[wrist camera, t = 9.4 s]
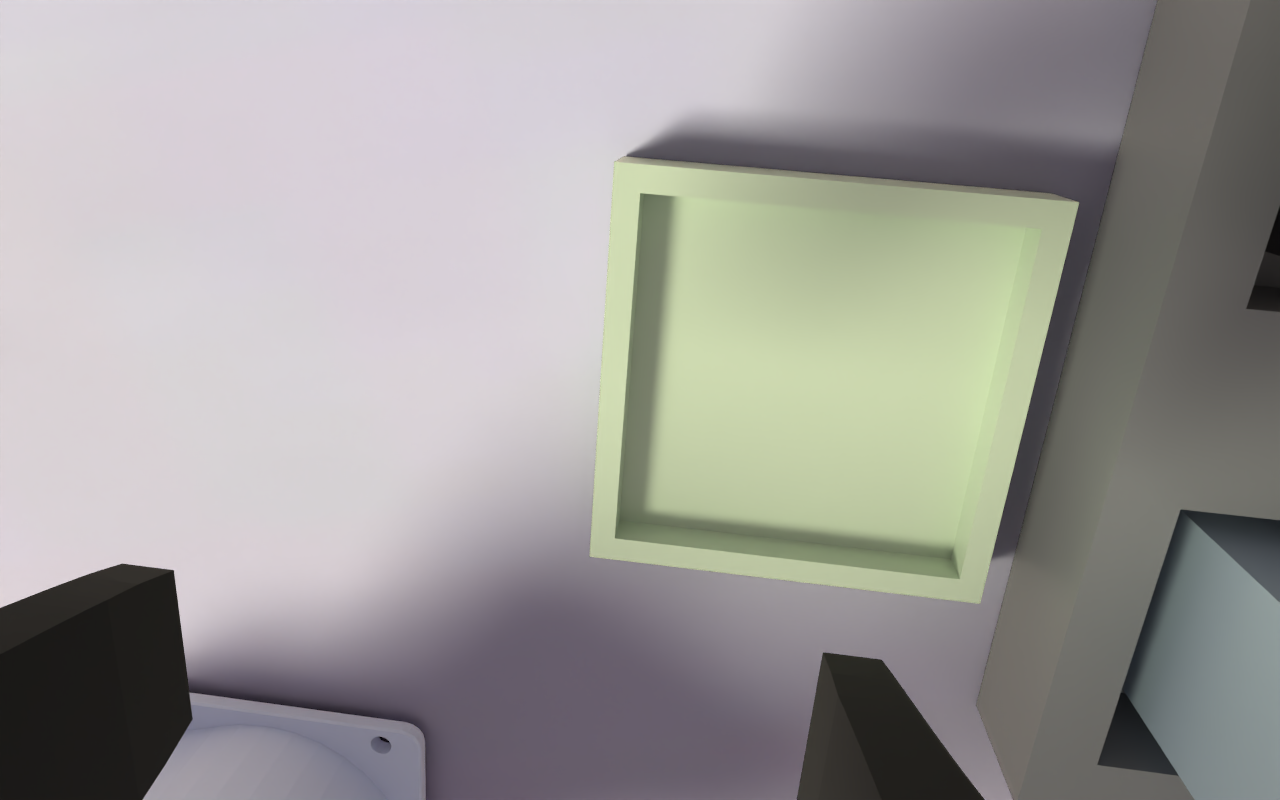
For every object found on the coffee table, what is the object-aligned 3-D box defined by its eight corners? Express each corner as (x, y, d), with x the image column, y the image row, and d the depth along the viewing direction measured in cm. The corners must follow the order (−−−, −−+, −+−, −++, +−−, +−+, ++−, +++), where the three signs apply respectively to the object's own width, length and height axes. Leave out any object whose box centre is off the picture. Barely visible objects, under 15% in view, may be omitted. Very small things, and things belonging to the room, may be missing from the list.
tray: (599, 525, 19) (589, 556, 18) (623, 156, 17) (614, 161, 15) (962, 567, 19) (979, 603, 17) (1050, 193, 16) (1079, 202, 15)
